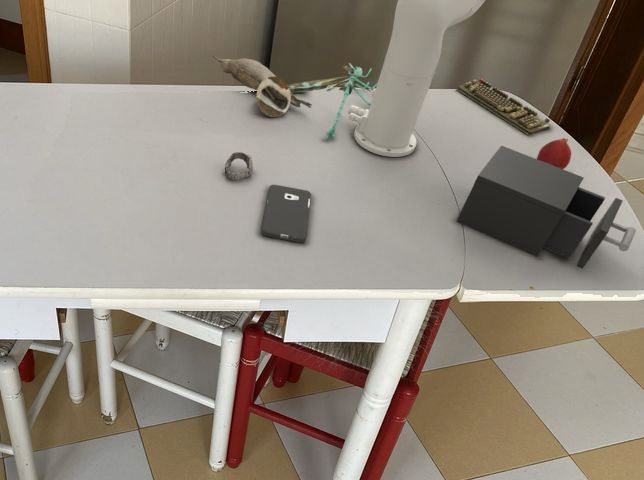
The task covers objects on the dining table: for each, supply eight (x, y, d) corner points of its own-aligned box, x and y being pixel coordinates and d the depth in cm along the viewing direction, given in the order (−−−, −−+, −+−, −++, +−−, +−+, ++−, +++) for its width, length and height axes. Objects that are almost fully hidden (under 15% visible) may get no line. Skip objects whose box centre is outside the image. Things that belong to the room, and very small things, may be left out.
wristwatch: (234, 159, 131) (258, 167, 129) (220, 180, 128) (244, 188, 127) (235, 144, 128) (259, 152, 127) (220, 165, 125) (245, 173, 124)
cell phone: (306, 239, 115) (305, 244, 116) (312, 190, 125) (310, 195, 126) (261, 230, 116) (260, 235, 116) (270, 182, 125) (269, 187, 126)
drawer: (622, 246, 121) (648, 210, 115) (608, 280, 115) (635, 243, 109) (523, 205, 127) (543, 169, 121) (504, 235, 121) (525, 198, 115)
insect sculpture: (265, 140, 143) (296, 72, 162) (360, 155, 139) (381, 83, 157) (267, 114, 139) (299, 47, 157) (365, 128, 134) (387, 57, 152)
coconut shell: (290, 117, 145) (273, 113, 150) (295, 78, 141) (278, 75, 147) (258, 116, 141) (242, 113, 146) (262, 76, 138) (246, 74, 143)
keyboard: (454, 89, 159) (457, 80, 157) (481, 82, 162) (484, 73, 161) (527, 136, 147) (531, 127, 145) (555, 127, 150) (559, 119, 149)
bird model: (224, 41, 156) (221, 64, 159) (206, 46, 152) (204, 69, 156) (324, 85, 142) (319, 109, 145) (307, 91, 139) (302, 115, 142)
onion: (528, 175, 136) (547, 139, 130) (532, 162, 140) (551, 126, 134) (558, 185, 135) (579, 149, 129) (561, 171, 138) (582, 135, 132)
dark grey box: (556, 222, 126) (584, 177, 119) (537, 257, 119) (565, 210, 112) (479, 190, 131) (501, 145, 124) (456, 221, 124) (478, 175, 117)
